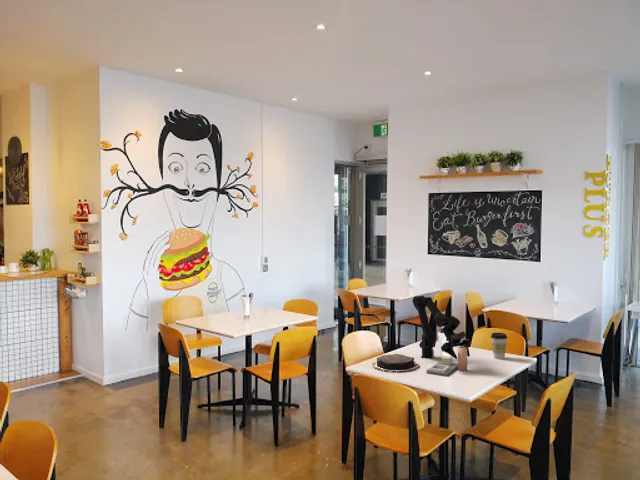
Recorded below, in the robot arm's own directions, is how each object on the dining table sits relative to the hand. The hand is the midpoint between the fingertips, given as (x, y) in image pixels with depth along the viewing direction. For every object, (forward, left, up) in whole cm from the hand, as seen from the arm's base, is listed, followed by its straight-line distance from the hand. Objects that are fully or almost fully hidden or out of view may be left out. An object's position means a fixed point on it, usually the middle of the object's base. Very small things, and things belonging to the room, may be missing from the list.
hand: (463, 357), depth 302 cm
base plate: (-10, -4, -7) cm, 13 cm away
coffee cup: (+12, +36, -8) cm, 38 cm away
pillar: (0, 0, -7) cm, 8 cm away
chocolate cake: (-38, -9, -8) cm, 40 cm away
